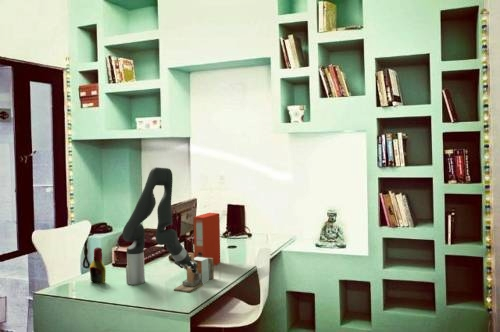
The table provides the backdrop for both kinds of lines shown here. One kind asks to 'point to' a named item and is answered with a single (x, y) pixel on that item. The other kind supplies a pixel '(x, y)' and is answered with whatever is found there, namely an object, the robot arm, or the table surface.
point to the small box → (202, 268)
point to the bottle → (97, 267)
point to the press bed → (190, 288)
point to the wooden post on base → (192, 275)
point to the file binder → (207, 236)
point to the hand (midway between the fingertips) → (192, 271)
